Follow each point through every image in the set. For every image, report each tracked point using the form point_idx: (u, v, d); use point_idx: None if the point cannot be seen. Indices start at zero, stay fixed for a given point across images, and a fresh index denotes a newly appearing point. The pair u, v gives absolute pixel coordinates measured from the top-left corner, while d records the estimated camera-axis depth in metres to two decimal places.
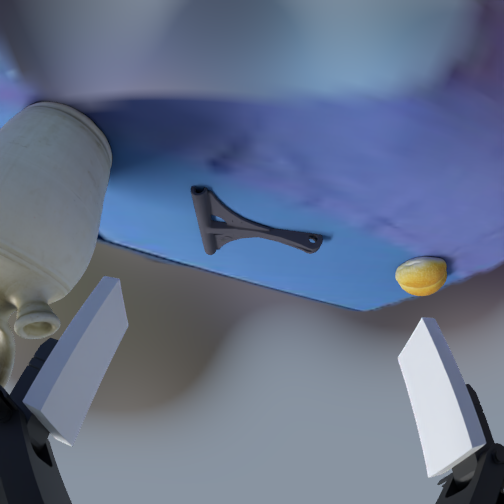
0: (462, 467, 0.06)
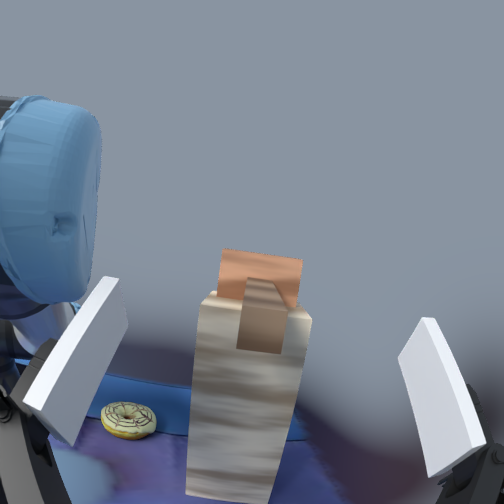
0: (462, 467, 0.06)
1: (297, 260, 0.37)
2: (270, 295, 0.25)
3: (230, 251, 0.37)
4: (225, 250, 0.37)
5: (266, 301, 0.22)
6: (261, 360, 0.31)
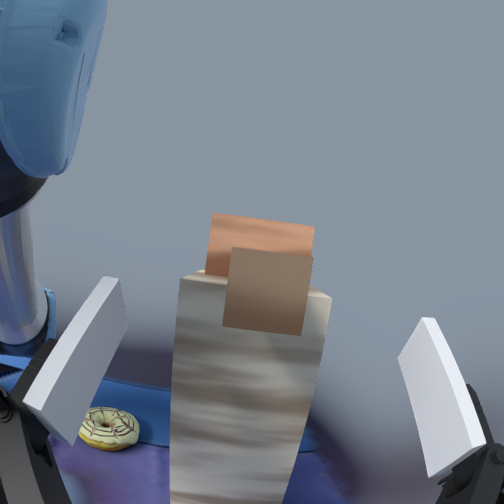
0: (462, 467, 0.06)
1: (307, 227, 0.29)
2: None
3: (222, 215, 0.29)
4: (216, 214, 0.29)
5: None
6: (263, 356, 0.23)
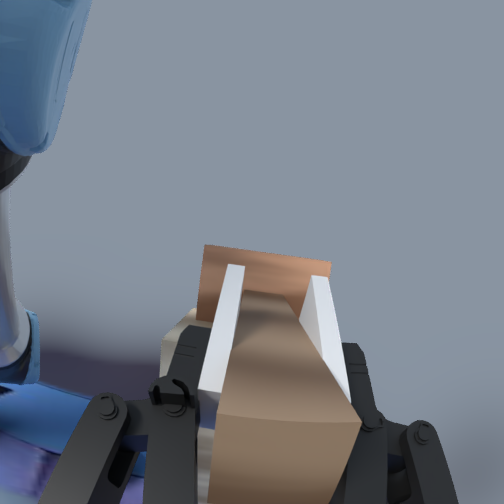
0: None
1: (323, 262, 0.23)
2: (291, 341, 0.11)
3: (216, 248, 0.23)
4: (208, 247, 0.23)
5: (288, 372, 0.08)
6: None
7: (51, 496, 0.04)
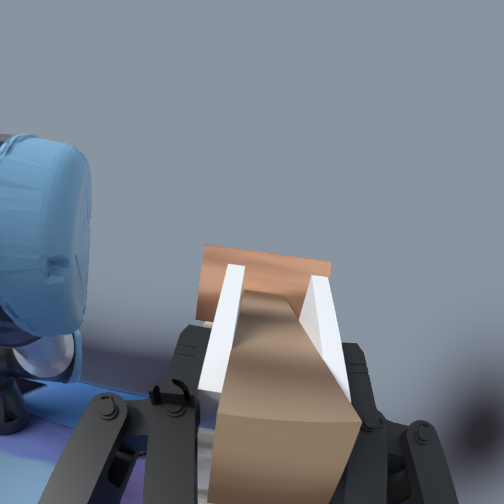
0: None
1: (323, 262, 0.23)
2: (291, 340, 0.11)
3: (216, 248, 0.23)
4: (209, 247, 0.23)
5: (288, 371, 0.08)
6: None
7: (51, 496, 0.04)
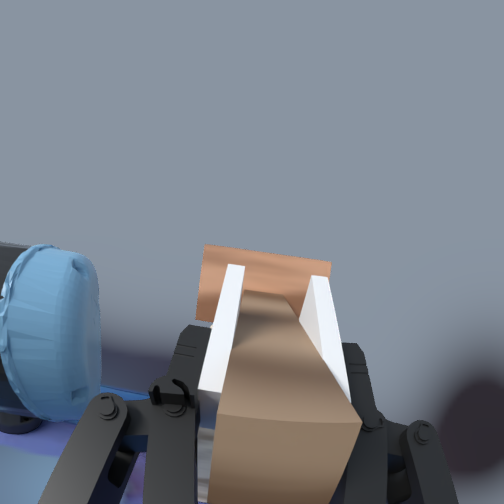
0: None
1: (323, 262, 0.23)
2: (291, 341, 0.11)
3: (216, 248, 0.23)
4: (209, 247, 0.23)
5: (288, 372, 0.08)
6: None
7: (51, 496, 0.04)
